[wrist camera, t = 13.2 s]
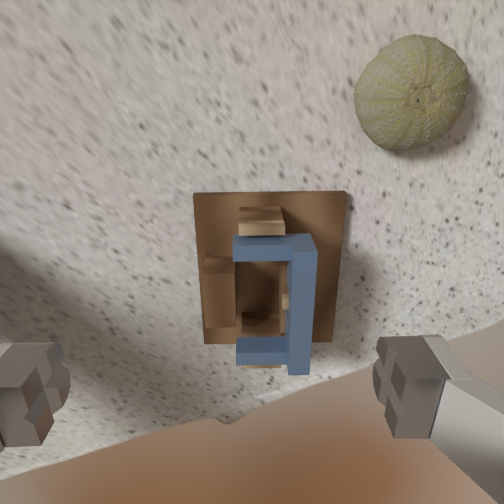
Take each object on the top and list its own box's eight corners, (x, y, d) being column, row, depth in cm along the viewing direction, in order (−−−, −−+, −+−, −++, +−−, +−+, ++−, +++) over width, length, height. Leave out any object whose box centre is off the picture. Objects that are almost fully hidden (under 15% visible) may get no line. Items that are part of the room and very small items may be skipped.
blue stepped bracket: (236, 348, 40) (236, 376, 36) (233, 234, 34) (231, 253, 31) (303, 347, 40) (309, 374, 36) (310, 233, 35) (317, 252, 31)
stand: (205, 338, 46) (199, 378, 40) (194, 192, 38) (184, 215, 32) (330, 336, 46) (343, 376, 40) (344, 190, 38) (362, 212, 32)
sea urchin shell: (455, 155, 35) (420, 163, 29) (376, 140, 40) (334, 143, 34) (491, 43, 31) (459, 27, 26) (399, 40, 36) (356, 27, 30)
